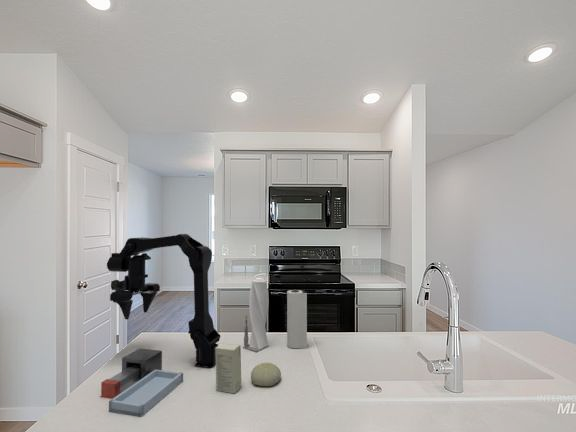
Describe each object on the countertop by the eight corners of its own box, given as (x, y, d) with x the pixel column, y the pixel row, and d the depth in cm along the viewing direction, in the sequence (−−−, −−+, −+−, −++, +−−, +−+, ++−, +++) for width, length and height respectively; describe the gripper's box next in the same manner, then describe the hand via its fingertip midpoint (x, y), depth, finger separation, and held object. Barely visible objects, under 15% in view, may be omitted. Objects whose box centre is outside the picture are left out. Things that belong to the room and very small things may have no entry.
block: (161, 370, 105) (162, 350, 105) (145, 382, 97) (145, 360, 98) (139, 367, 107) (139, 348, 107) (121, 379, 99) (122, 358, 100)
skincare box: (241, 386, 95) (242, 344, 95) (234, 394, 91) (234, 350, 91) (222, 383, 97) (222, 342, 97) (214, 390, 93) (214, 347, 93)
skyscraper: (257, 341, 131) (257, 272, 132) (273, 346, 126) (273, 274, 127) (242, 348, 124) (243, 274, 125) (258, 353, 119) (259, 276, 120)
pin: (150, 374, 103) (150, 361, 103) (114, 399, 88) (114, 384, 88) (138, 372, 104) (138, 360, 104) (101, 397, 89) (101, 382, 89)
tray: (183, 381, 98) (183, 372, 98) (141, 416, 80) (141, 406, 80) (155, 377, 100) (155, 369, 100) (108, 411, 82) (108, 401, 82)
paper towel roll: (284, 344, 128) (284, 290, 128) (298, 342, 130) (298, 288, 131) (292, 351, 121) (292, 293, 122) (306, 348, 124) (306, 292, 124)
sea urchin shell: (289, 373, 99) (276, 360, 95) (276, 398, 95) (262, 386, 91) (268, 364, 106) (255, 351, 102) (255, 388, 101) (241, 376, 97)
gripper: (136, 268, 128) (136, 307, 128) (97, 275, 111) (96, 321, 110) (160, 269, 125) (160, 309, 125) (124, 276, 107) (123, 324, 107)
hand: (136, 315), depth 117 cm, fingers open, 9 cm apart
